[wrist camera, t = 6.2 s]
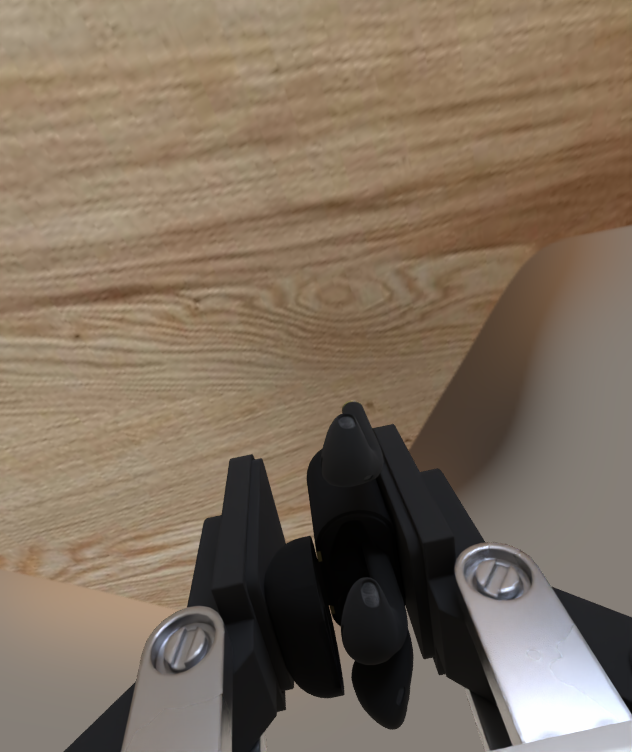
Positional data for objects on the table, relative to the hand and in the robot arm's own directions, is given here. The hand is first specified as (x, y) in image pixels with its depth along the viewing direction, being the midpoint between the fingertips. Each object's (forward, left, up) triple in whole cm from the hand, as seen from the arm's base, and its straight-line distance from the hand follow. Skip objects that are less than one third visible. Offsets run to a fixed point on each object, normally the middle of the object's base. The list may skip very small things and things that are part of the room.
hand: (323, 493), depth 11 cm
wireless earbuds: (0, 0, 0) cm, 0 cm away
